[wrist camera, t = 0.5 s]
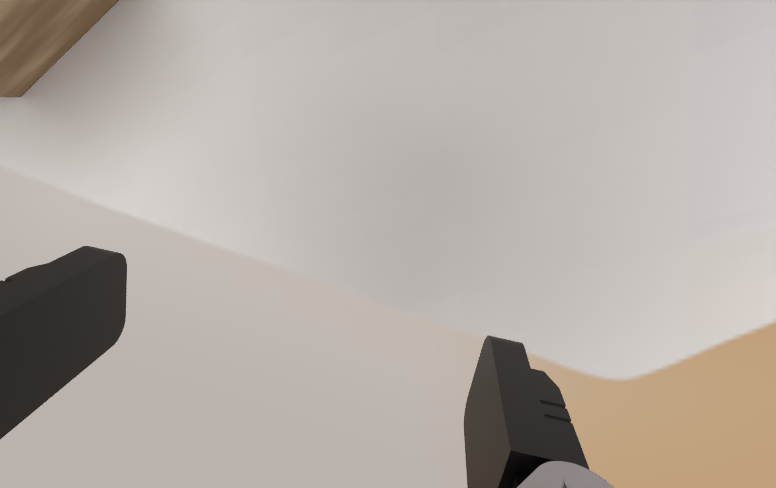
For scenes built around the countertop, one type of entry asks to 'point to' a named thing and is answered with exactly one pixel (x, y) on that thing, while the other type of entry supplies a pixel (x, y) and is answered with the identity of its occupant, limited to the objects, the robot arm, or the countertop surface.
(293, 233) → the countertop surface
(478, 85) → the countertop surface
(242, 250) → the countertop surface
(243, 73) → the countertop surface
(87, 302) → the robot arm
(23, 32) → the wooden l-shaped stand
